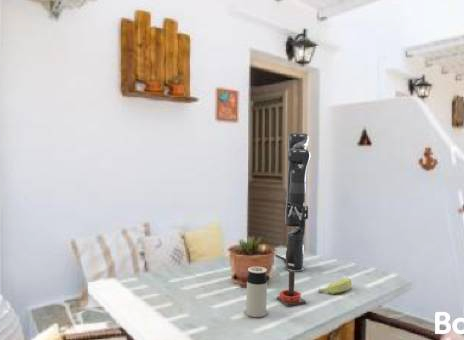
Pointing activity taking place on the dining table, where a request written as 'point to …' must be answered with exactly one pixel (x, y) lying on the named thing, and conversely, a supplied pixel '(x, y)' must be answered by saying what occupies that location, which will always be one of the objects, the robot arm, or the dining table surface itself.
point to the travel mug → (256, 292)
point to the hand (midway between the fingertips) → (296, 226)
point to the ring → (289, 298)
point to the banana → (338, 286)
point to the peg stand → (291, 292)
